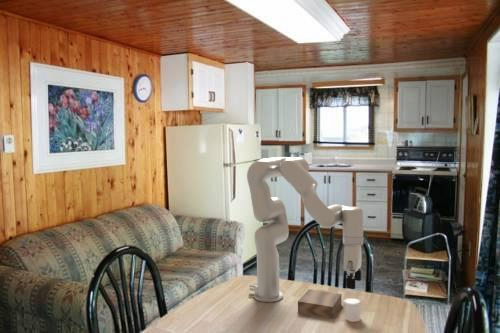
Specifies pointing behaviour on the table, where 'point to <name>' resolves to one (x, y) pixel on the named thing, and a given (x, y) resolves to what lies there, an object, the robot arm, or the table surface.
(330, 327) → the table surface
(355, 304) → the shot glass
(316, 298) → the walnut block
